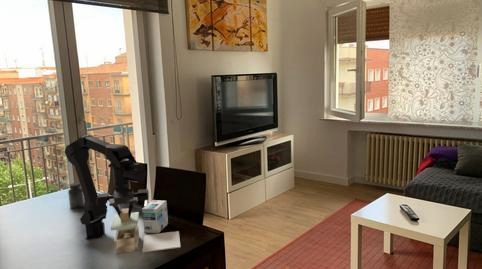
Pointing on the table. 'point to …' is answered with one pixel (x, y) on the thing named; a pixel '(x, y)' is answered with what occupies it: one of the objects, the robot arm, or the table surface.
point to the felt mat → (161, 241)
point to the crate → (126, 240)
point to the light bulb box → (155, 216)
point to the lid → (125, 220)
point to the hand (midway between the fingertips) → (125, 218)
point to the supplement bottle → (76, 196)
